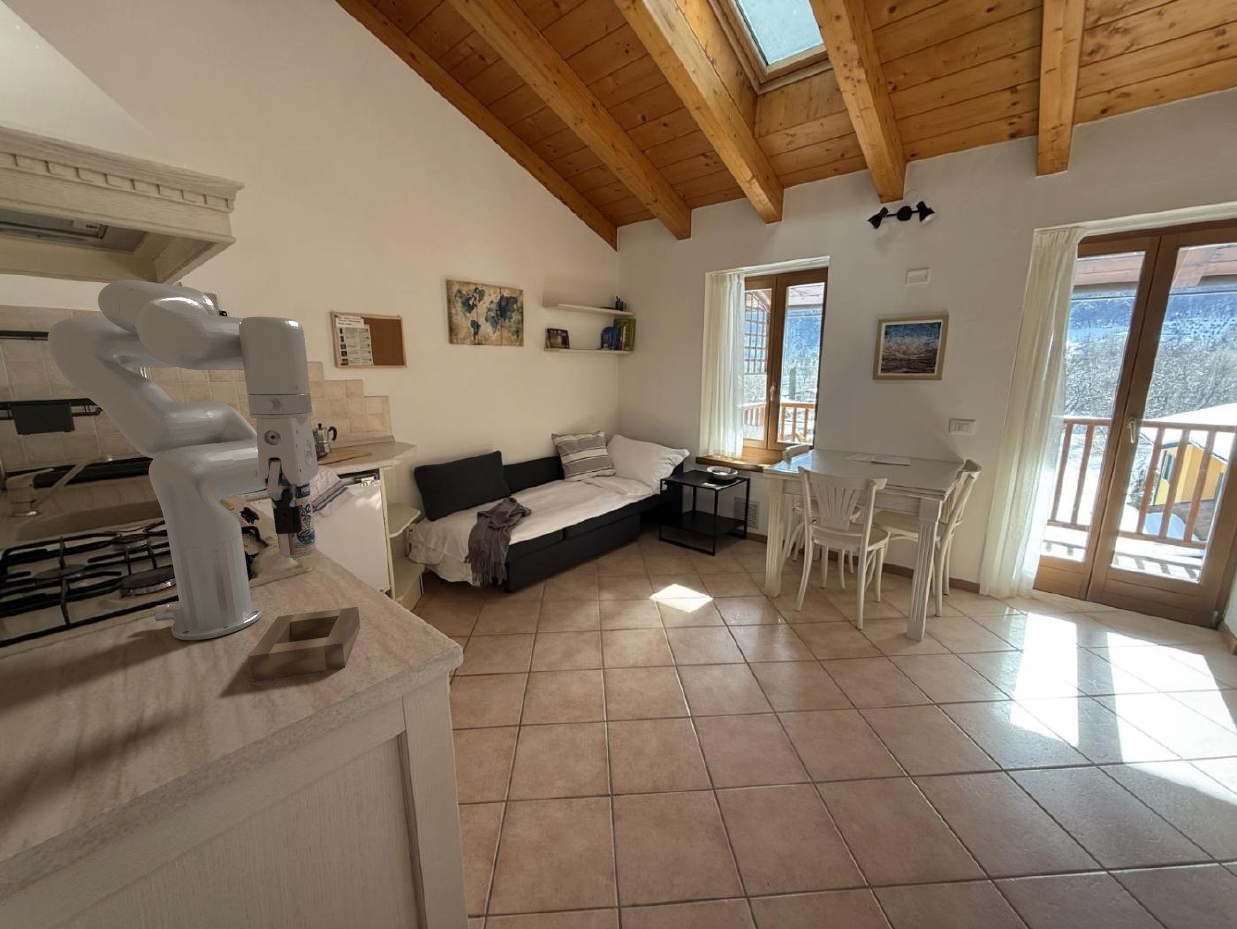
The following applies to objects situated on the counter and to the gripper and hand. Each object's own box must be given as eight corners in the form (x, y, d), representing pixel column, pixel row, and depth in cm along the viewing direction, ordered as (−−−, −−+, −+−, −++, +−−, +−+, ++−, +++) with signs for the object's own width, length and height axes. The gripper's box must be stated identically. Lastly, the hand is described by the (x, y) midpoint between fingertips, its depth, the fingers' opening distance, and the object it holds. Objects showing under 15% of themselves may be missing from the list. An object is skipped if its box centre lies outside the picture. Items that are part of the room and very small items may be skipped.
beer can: (299, 560, 72) (289, 481, 70) (271, 557, 73) (261, 479, 71) (324, 549, 77) (316, 474, 74) (298, 546, 78) (289, 472, 75)
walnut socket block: (252, 681, 71) (248, 656, 70) (280, 638, 82) (278, 616, 81) (345, 667, 74) (342, 643, 74) (360, 628, 86) (358, 606, 85)
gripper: (291, 411, 64) (306, 543, 67) (326, 402, 80) (336, 510, 83) (223, 411, 62) (242, 549, 65) (272, 402, 78) (286, 513, 81)
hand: (295, 525), depth 74 cm, fingers closed on beer can, 4 cm apart
